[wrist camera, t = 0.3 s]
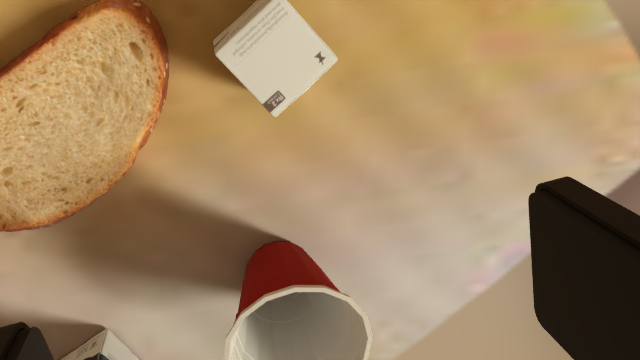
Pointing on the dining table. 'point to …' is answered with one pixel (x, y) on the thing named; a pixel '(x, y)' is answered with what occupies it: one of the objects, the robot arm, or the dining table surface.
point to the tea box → (102, 349)
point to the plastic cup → (294, 312)
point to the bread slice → (78, 111)
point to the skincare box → (273, 53)
